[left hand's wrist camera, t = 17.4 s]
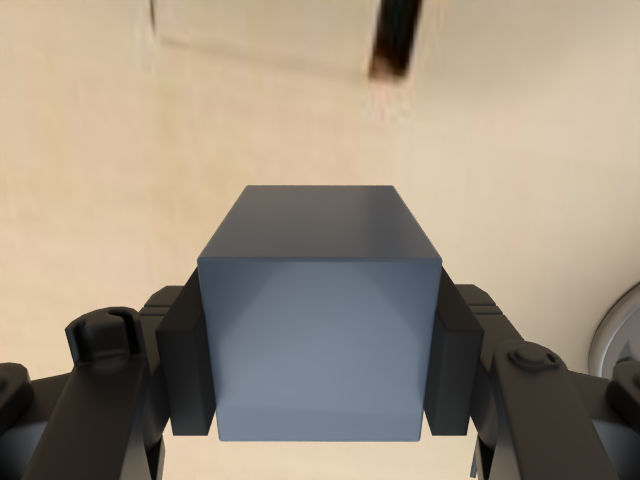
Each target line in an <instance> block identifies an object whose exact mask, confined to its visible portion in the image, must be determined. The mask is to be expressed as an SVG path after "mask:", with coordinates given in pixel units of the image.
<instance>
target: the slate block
mask: <svg viewBox="0 0 640 480" xmlns="http://www.w3.org/2000/svg"><path fill="white" fill-rule="evenodd" d="M197 265H198V273H199V281H200V289H201V297H202V305H203V310H204V313H205V321H206V329H207V338H208V346H209V354H210V362H211V370H212V378H213V386H214V394H215V402H216V419H217V427H218V435H219V440H220V441H403V442H417V441H419V440H420V436H421V428H422V420H423V412H424V400H425V392H426V384H427V376H428V368H429V359H430V351H431V343H432V335H433V327H434V319H435V311H436V308H437V300H438V292H439V284H440V276H441V268H442V258H441V257H440V255H439V254H438V252H437V251H436V249H435V248H434V246H433V245H432V243H431V242H430V240H429V239H428V237H427V236H426V234H425V233H424V231H423V230H422V228H421V227H420V225H419V224H418V222H417V221H416V219H415V218H414V216H413V215H412V213H411V212H410V210H409V209H408V207H407V206H406V204H405V203H404V201H403V200H402V198H401V197H400V195H399V194H398V192H397V191H396V189H395V188H394V186H297V185H248V186H246V188H245V189H244V190H243V192H242V193H241V195H240V196H239V198H238V199H237V201H236V202H235V204H234V205H233V207H232V208H231V210H230V211H229V213H228V214H227V216H226V217H225V219H224V220H223V221H222V223H221V224H220V226H219V227H218V229H217V230H216V232H215V233H214V235H213V236H212V238H211V239H210V241H209V242H208V244H207V245H206V247H205V248H204V250H203V251H202V252H201V254H200V255H199V257H198V259H197Z"/></svg>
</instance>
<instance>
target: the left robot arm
mask: <svg viewBox="0 0 640 480" xmlns="http://www.w3.org/2000/svg"><path fill="white" fill-rule="evenodd" d="M65 332H66V336H67V340H68V343H69V347H70V351H71V354H72V358H73V362H74V367H73V369H72V372H70V373H66V374H62V375H57V376H52V377H47V378H43V379H38V380H33V381H31V380H30V377H29V374H28V371H27V368H25V367H24V366H23V365H21V364H17V363H10V362H9V363H1V364H0V480H162V474H163V466H164V457H165V447H164V440H163V435H162V433H163V431H164V429H165V426H166V424H167V422H168V420H169V417H170V420H171V426H172V432H173V436H208V432H209V429H210V426H211V423H212V420H213V417H214V413H215V410H216V402H215V394H214V386H213V378H212V370H211V362H210V354H209V346H208V338H207V329H206V321H205V313H204V310H203V305H202V297H201V289H200V281H199V273H198V266H197V267H196V269H195V270H194V272H193V274H192V275H191V277H190V278H189V280H188V281H187V283H186V284H185V286H166V287H164V288H162V289H161V290H159V291H158V292H156V293H154V294H153V295H152V296H151V297H150V298H149V300H148V301H147V302H146V304H145V305H144V307H142V309H141V310H140V311H139V313H138V312H137V311H136V310H134V309H132V308H128V307H108V308H103V309H98V310H95V311H92V312H89V313H87V314H84V315H82V316H80V317H79V318H77V319H75V320H74V321H72V322H71V323H70V324H69V325H68V326H67V327H66V328H65ZM589 372H590V375H587V374H582V373H577V372H573V371H569V370H568V369H567V367H566V365H565V363H564V362H563V361H562V359H561V358H560V357H559V356H558V355H556V354H555V353H554V352H552V351H551V350H549V349H547V348H545V347H543V346H541V345H538V344H536V343H532V342H528V341H525V340H524V339H523V338H522V337H521V335H520V334H519V333H518V332H517V330H516V329H515V328H514V326H513V325H512V324H511V323H510V321H509V320H508V319H507V318H506V316H505V315H503V312H502V311H501V310H500V309H499V307H498V306H496V303H495V302H494V301H493V300H492V298H491V297H490V296H489V295H488V293H486V292H485V291H483V290H481V289H480V288H478V287H477V286H475V285H473V284H454V283H453V282H452V280H451V279H450V277H449V276H448V274H447V272H446V271H445V269H444V268H443V266H442V268H441V276H440V284H439V292H438V300H437V308H436V311H435V319H434V327H433V335H432V343H431V351H430V359H429V368H428V376H427V384H426V392H425V400H424V411H425V414H426V417H427V421H428V424H429V427H430V430H431V433H432V436H467V430H468V424H469V419H470V416H471V418H472V420H473V423H474V425H475V427H476V429H477V432H478V435H477V440H476V446H475V451H474V456H473V462H472V467H471V473H470V477H473V478H476V473H478V480H640V284H639V285H638V286H637V287H635V288H634V289H632V290H631V291H630V292H629V293H627V294H626V295H625V296H624V297H623V298H622V299H621V300H620V301H619V302H618V303H617V304H616V305H615V306H614V307H613V308H612V309H611V310H610V312H609V313H608V314H607V315H606V317H605V318H604V320H603V321H602V323H601V324H600V326H599V328H598V330H597V332H596V334H595V336H594V338H593V341H592V344H591V348H590V353H589Z"/></svg>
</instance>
